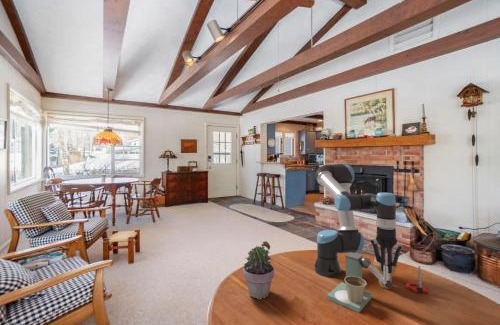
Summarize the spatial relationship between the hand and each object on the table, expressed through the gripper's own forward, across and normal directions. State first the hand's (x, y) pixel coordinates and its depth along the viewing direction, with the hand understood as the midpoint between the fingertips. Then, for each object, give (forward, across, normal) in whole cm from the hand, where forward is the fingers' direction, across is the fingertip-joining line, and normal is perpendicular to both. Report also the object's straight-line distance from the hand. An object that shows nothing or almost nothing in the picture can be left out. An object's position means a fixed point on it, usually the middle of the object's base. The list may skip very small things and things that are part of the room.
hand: (386, 279), depth 109 cm
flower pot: (+11, -11, -8) cm, 17 cm away
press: (+12, -15, -5) cm, 20 cm away
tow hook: (+13, +6, +27) cm, 30 cm away
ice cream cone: (+12, -6, +18) cm, 23 cm away
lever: (0, -6, 0) cm, 6 cm away
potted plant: (+13, -49, -33) cm, 60 cm away
